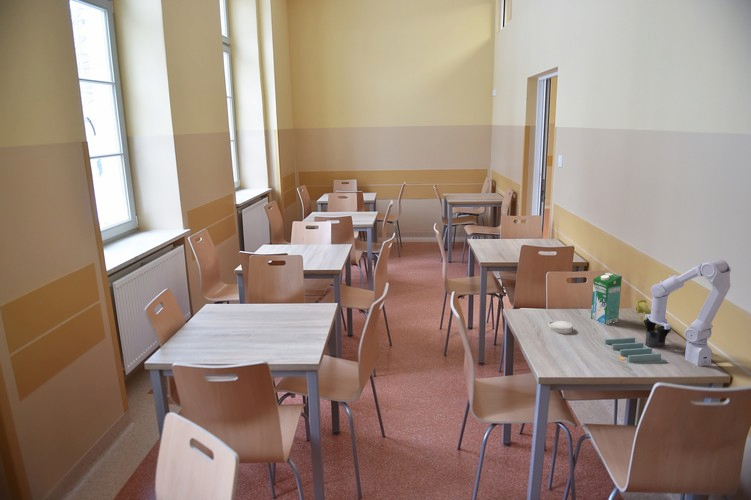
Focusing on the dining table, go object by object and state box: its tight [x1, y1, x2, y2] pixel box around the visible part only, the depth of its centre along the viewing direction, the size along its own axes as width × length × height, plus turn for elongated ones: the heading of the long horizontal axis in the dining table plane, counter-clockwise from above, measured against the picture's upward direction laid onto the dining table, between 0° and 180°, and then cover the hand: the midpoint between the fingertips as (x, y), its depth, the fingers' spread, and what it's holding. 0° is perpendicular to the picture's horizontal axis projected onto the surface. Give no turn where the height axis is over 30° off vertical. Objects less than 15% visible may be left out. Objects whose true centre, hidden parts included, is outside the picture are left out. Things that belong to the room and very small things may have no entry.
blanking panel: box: [644, 330, 667, 348], centre depth 233 cm, size 2×8×7 cm, turn 97°
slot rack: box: [604, 337, 667, 364], centre depth 226 cm, size 21×18×3 cm
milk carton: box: [590, 272, 623, 325], centre depth 261 cm, size 9×9×25 cm
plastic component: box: [635, 299, 659, 329], centre depth 263 cm, size 20×7×10 cm, turn 169°
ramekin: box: [547, 320, 574, 334], centre depth 249 cm, size 11×11×5 cm
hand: (655, 339), depth 234 cm, fingers open, 7 cm apart
